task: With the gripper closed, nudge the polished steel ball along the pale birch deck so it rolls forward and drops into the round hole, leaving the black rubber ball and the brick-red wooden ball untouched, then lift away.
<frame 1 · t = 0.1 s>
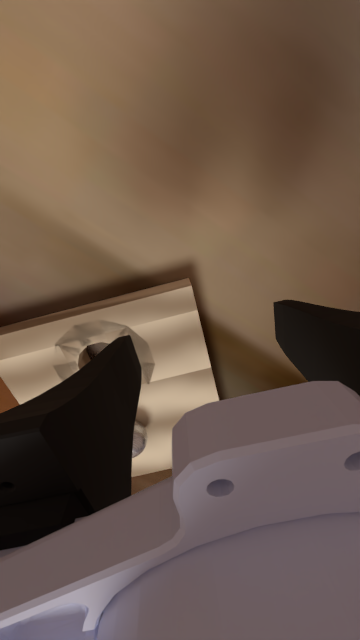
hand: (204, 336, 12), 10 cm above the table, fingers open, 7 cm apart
steel ball: (130, 438, 23), point 4 cm above the table, touching deck
deck: (127, 389, 25), on the table
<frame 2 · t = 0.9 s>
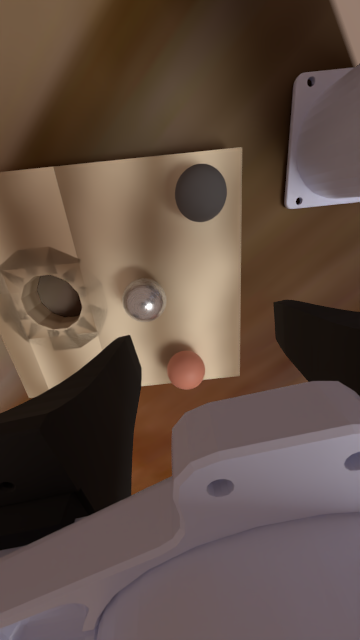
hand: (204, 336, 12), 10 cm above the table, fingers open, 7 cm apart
black rubber ball: (200, 194, 15), point 4 cm above the table, touching deck
steel ball: (144, 300, 18), point 4 cm above the table, touching deck
brick-red wooden ball: (186, 369, 20), point 4 cm above the table, touching deck
deck: (120, 287, 21), on the table
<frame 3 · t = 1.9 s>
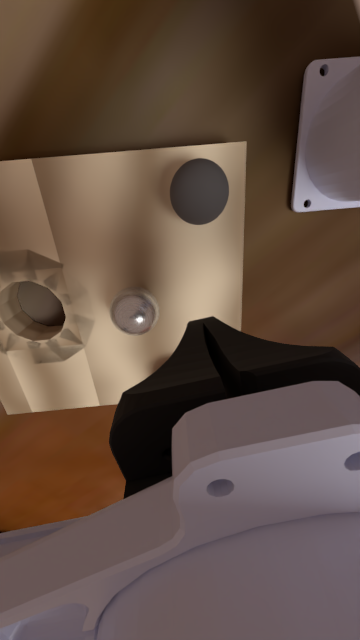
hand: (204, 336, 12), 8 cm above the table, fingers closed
black rubber ball: (199, 193, 13), point 4 cm above the table, touching deck
steel ball: (134, 311, 16), point 4 cm above the table, touching deck
deck: (110, 295, 19), on the table
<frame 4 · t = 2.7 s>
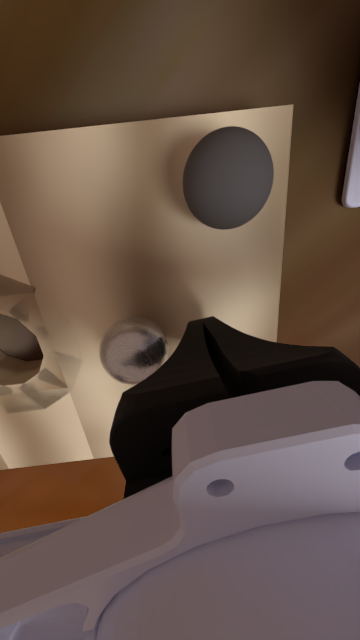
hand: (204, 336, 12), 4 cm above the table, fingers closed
black rubber ball: (226, 182, 9), point 4 cm above the table, touching deck
steel ball: (134, 350, 11), point 4 cm above the table, touching deck
deck: (102, 320, 15), on the table
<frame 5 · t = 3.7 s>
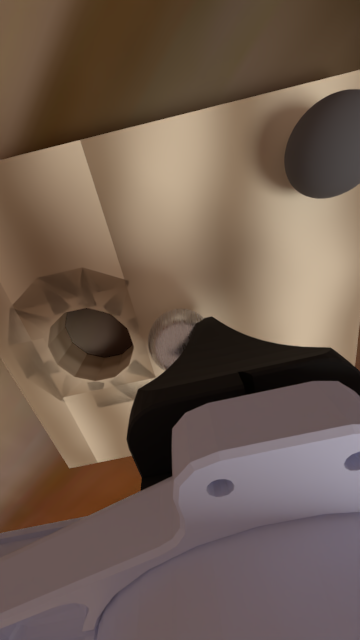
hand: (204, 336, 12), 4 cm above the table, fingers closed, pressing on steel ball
black rubber ball: (331, 149, 9), point 4 cm above the table, touching deck
steel ball: (180, 341, 12), point 4 cm above the table, tilted 92°, touching deck, gripper
deck: (177, 310, 15), on the table
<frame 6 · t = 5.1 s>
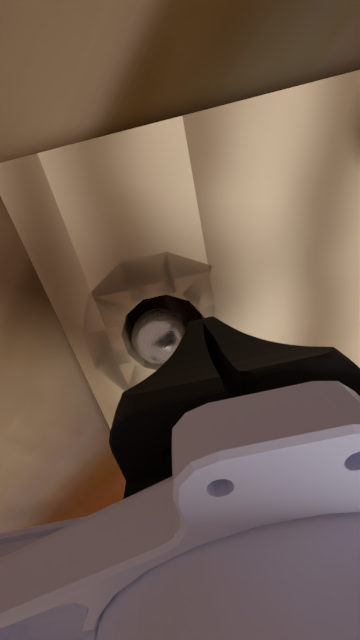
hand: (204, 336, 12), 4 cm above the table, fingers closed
steel ball: (159, 336, 14), point 2 cm above the table, tilted 25°
deck: (243, 300, 15), on the table
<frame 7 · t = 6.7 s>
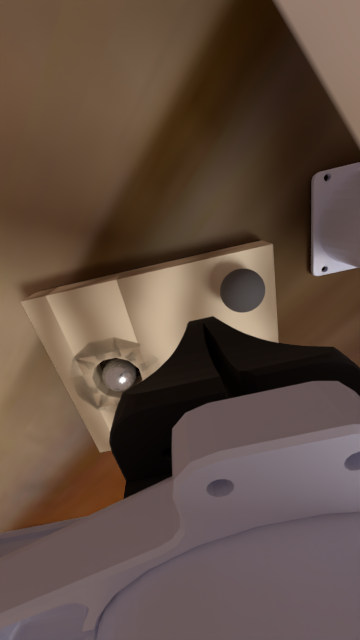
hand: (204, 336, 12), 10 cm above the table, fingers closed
black rubber ball: (242, 290, 18), point 4 cm above the table, touching deck
steel ball: (119, 374, 23), point 2 cm above the table, tilted 38°
deck: (169, 353, 24), on the table
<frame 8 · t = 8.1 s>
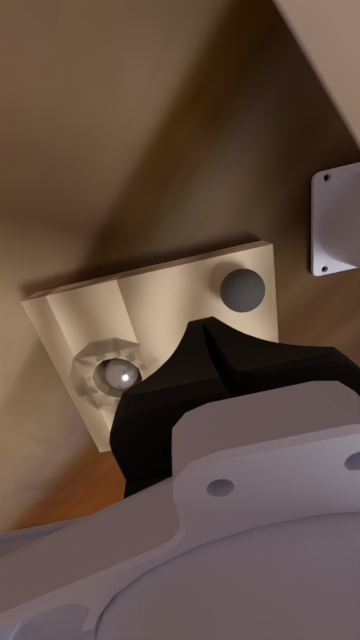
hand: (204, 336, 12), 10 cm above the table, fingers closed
black rubber ball: (242, 290, 18), point 4 cm above the table, touching deck
steel ball: (122, 372, 23), point 2 cm above the table, tilted 51°
deck: (170, 353, 24), on the table
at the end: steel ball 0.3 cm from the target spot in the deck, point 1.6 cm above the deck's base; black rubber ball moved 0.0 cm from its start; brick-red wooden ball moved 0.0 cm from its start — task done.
